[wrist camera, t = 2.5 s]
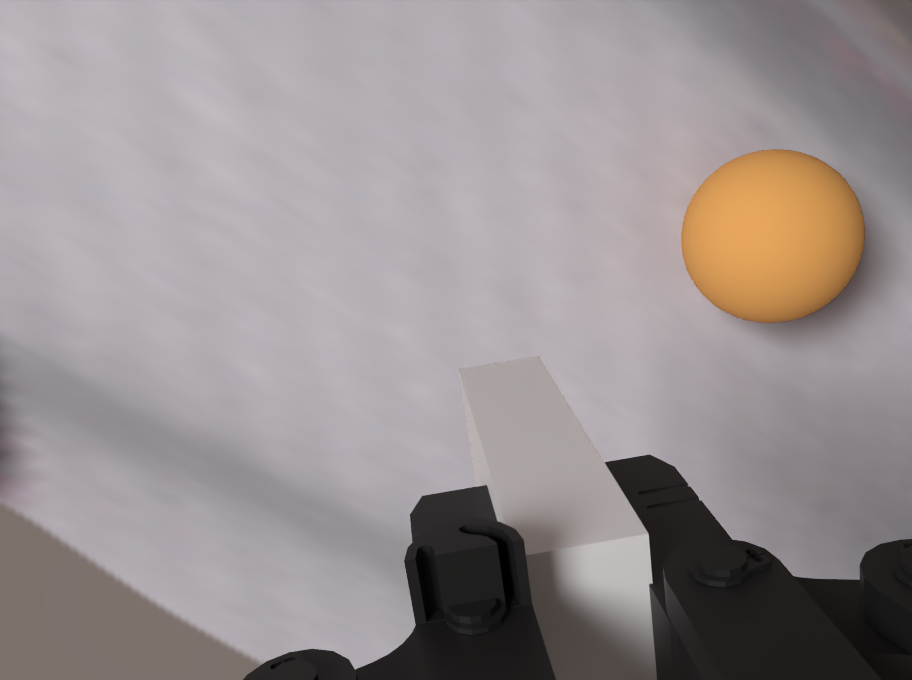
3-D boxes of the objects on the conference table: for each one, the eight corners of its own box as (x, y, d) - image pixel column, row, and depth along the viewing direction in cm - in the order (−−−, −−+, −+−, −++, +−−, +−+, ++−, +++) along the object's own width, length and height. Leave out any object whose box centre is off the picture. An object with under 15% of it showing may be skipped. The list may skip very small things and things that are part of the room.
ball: (810, 132, 29) (904, 143, 24) (813, 286, 31) (901, 328, 26) (654, 156, 29) (713, 172, 24) (664, 310, 31) (723, 357, 26)
